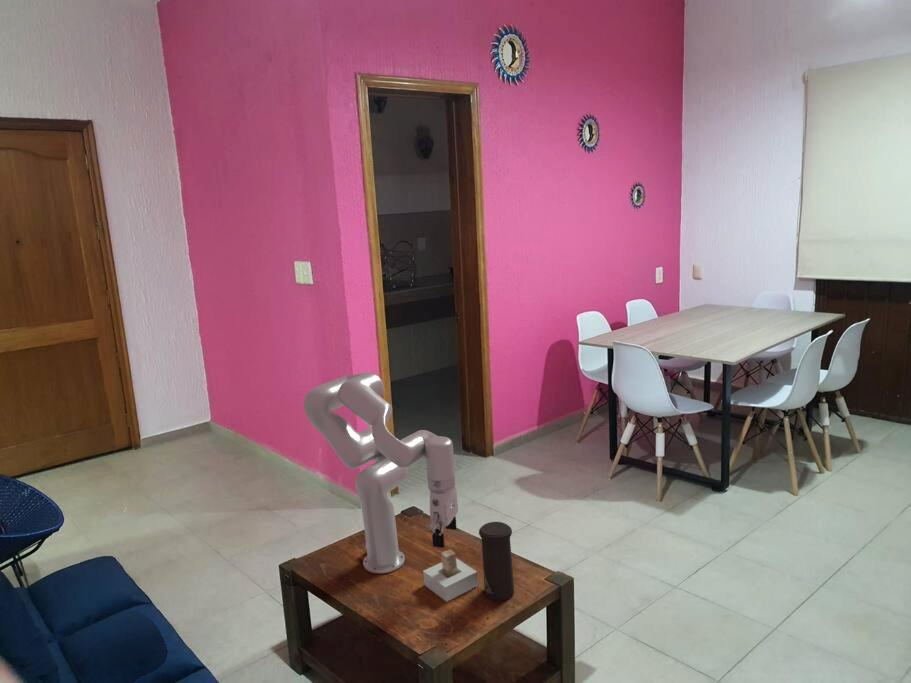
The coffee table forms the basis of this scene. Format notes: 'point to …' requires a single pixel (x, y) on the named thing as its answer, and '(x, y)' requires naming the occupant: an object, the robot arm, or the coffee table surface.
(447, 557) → the birch stick
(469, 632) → the coffee table surface
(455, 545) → the coffee table surface
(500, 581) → the container
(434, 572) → the grey square socket block
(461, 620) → the coffee table surface
